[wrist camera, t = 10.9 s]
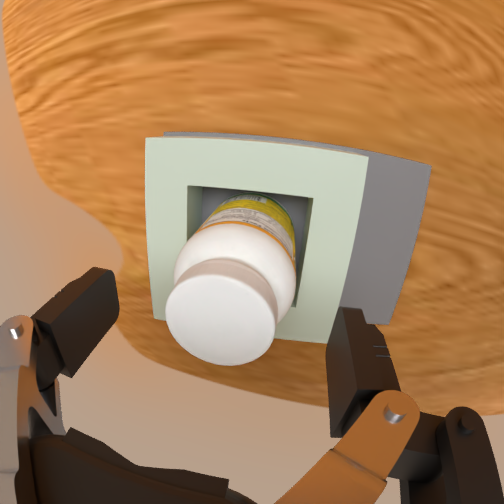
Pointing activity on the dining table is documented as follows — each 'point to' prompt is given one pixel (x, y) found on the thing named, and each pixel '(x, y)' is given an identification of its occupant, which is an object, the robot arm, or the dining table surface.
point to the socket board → (293, 217)
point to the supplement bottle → (234, 281)
